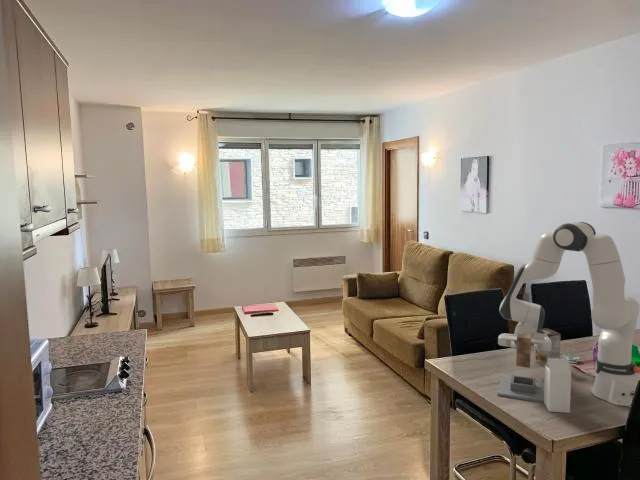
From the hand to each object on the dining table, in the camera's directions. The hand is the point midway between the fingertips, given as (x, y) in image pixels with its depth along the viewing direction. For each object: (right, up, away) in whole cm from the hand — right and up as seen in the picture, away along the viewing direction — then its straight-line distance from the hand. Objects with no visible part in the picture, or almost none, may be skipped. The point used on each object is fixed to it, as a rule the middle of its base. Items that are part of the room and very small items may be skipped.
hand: (523, 348), depth 188 cm
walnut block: (0, -7, +2) cm, 7 cm away
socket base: (+1, -18, +3) cm, 18 cm away
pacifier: (+36, -14, +33) cm, 50 cm away
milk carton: (+6, -19, -13) cm, 24 cm away
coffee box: (+23, -15, +28) cm, 39 cm away
